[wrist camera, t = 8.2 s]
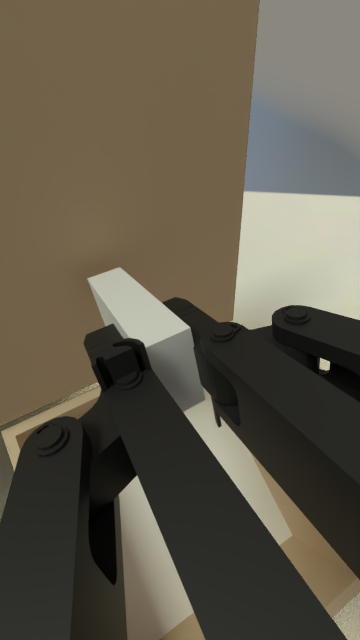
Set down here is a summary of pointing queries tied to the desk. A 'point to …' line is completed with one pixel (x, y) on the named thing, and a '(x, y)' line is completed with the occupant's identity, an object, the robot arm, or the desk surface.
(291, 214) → the desk surface
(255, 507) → the box
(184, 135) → the mailer lid
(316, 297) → the desk surface
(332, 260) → the desk surface
